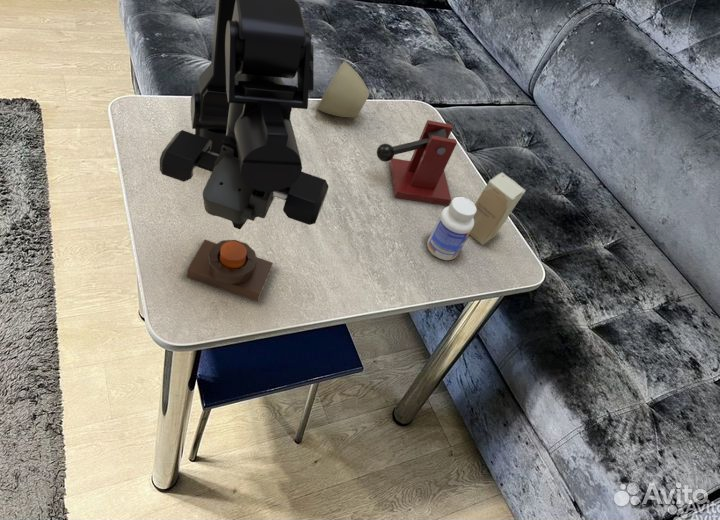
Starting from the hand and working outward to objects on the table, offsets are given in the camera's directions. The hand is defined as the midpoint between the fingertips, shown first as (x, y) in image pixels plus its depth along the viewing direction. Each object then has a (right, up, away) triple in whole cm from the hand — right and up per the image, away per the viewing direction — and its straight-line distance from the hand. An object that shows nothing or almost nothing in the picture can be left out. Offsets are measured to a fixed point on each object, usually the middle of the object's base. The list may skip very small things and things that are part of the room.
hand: (238, 226), depth 74 cm
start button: (-2, -4, +4) cm, 6 cm away
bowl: (+16, +25, +36) cm, 46 cm away
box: (+36, 0, +27) cm, 45 cm away
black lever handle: (+24, +14, +25) cm, 38 cm away
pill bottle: (+29, -3, +21) cm, 36 cm away
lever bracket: (+26, +9, +31) cm, 41 cm away
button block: (-2, -6, +7) cm, 9 cm away
